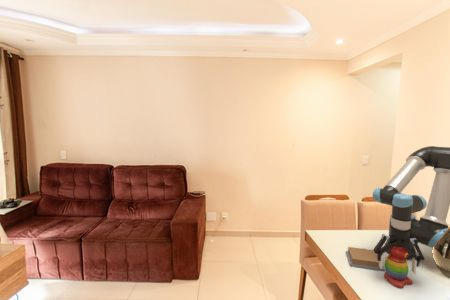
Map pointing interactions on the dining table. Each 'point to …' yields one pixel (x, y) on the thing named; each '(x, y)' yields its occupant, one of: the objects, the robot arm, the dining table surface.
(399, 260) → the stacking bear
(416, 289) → the dining table surface
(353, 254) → the board
